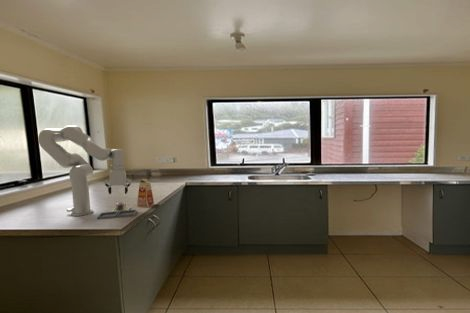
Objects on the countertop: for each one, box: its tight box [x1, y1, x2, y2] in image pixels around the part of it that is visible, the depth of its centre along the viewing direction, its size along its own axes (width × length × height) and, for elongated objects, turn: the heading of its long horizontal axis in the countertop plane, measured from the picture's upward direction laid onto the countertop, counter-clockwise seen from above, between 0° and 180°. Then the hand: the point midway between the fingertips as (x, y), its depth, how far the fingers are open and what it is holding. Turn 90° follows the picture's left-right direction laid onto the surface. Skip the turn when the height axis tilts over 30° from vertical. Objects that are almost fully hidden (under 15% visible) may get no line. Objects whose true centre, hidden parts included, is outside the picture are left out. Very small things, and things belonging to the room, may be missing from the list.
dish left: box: [96, 211, 119, 220], centre depth 168 cm, size 10×10×2 cm
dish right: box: [116, 209, 138, 218], centre depth 170 cm, size 10×10×2 cm
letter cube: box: [115, 201, 127, 211], centre depth 179 cm, size 5×5×5 cm
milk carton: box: [136, 178, 155, 208], centre depth 192 cm, size 9×9×20 cm
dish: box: [110, 205, 131, 212], centre depth 180 cm, size 10×10×2 cm
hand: (118, 193), depth 179 cm, fingers open, 9 cm apart
